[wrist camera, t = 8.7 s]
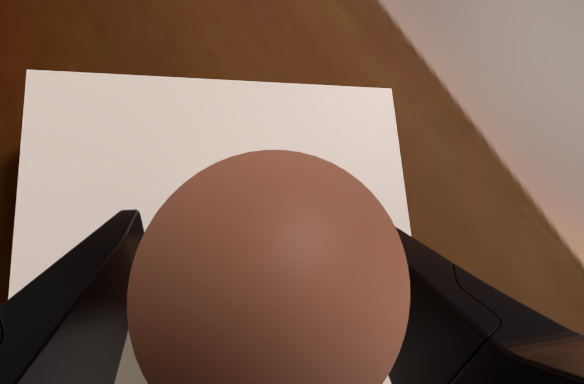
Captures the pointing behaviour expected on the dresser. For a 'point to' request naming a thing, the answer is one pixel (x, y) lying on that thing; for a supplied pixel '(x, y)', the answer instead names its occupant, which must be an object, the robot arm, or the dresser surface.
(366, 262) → the peg
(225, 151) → the hole block
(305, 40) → the dresser surface
